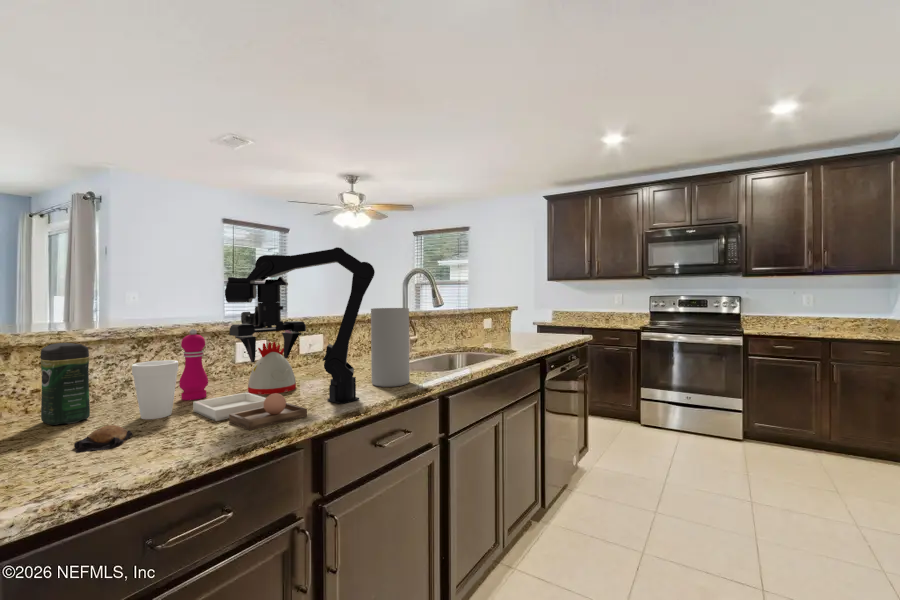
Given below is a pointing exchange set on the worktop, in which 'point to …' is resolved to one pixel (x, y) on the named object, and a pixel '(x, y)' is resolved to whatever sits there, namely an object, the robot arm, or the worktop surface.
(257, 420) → the tray
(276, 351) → the grey and red dome
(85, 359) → the coffee jar
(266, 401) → the ball
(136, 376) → the foam cup
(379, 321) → the cylinder vase
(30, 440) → the worktop surface
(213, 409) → the dish
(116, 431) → the turtle figurine
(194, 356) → the pepper mill
